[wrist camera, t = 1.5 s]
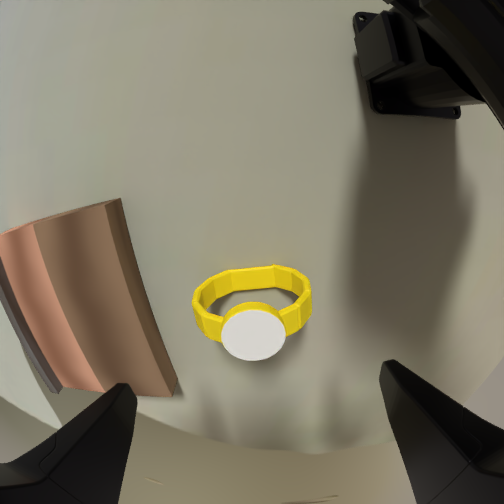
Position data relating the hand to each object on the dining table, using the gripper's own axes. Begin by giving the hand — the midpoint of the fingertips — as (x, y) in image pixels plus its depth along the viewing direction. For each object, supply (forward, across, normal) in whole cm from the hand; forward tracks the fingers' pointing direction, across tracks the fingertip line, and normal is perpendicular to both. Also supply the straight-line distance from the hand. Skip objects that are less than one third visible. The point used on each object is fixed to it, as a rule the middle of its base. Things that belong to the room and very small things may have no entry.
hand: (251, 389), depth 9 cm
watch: (+9, 0, 0) cm, 9 cm away
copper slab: (+9, +13, +1) cm, 16 cm away
